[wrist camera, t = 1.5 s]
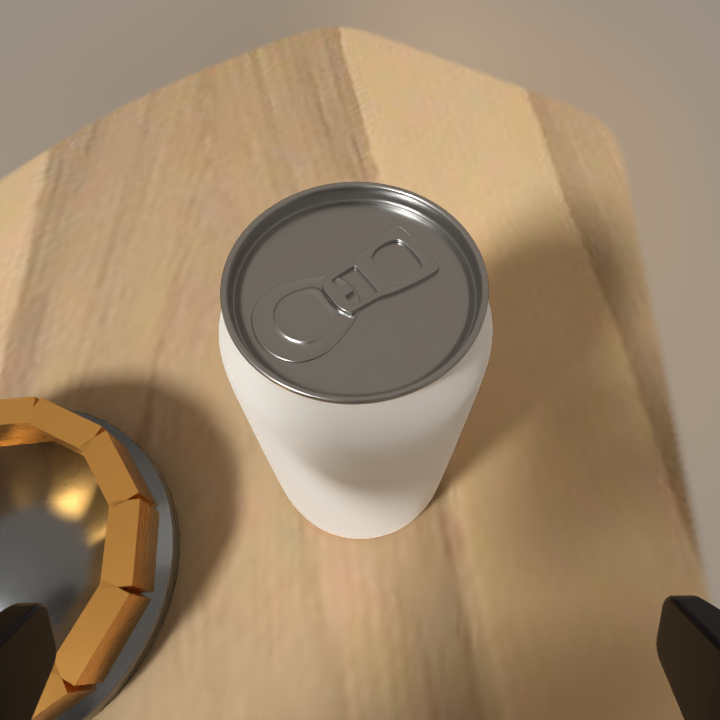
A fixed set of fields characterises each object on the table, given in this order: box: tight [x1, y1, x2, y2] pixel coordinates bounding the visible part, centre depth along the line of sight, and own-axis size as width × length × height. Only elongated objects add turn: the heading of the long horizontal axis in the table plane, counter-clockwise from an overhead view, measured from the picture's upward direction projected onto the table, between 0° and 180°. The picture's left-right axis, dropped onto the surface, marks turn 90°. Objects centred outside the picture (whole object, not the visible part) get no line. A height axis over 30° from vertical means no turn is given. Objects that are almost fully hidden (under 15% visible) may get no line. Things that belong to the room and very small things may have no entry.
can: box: [219, 182, 493, 539], centre depth 17 cm, size 6×6×12 cm
